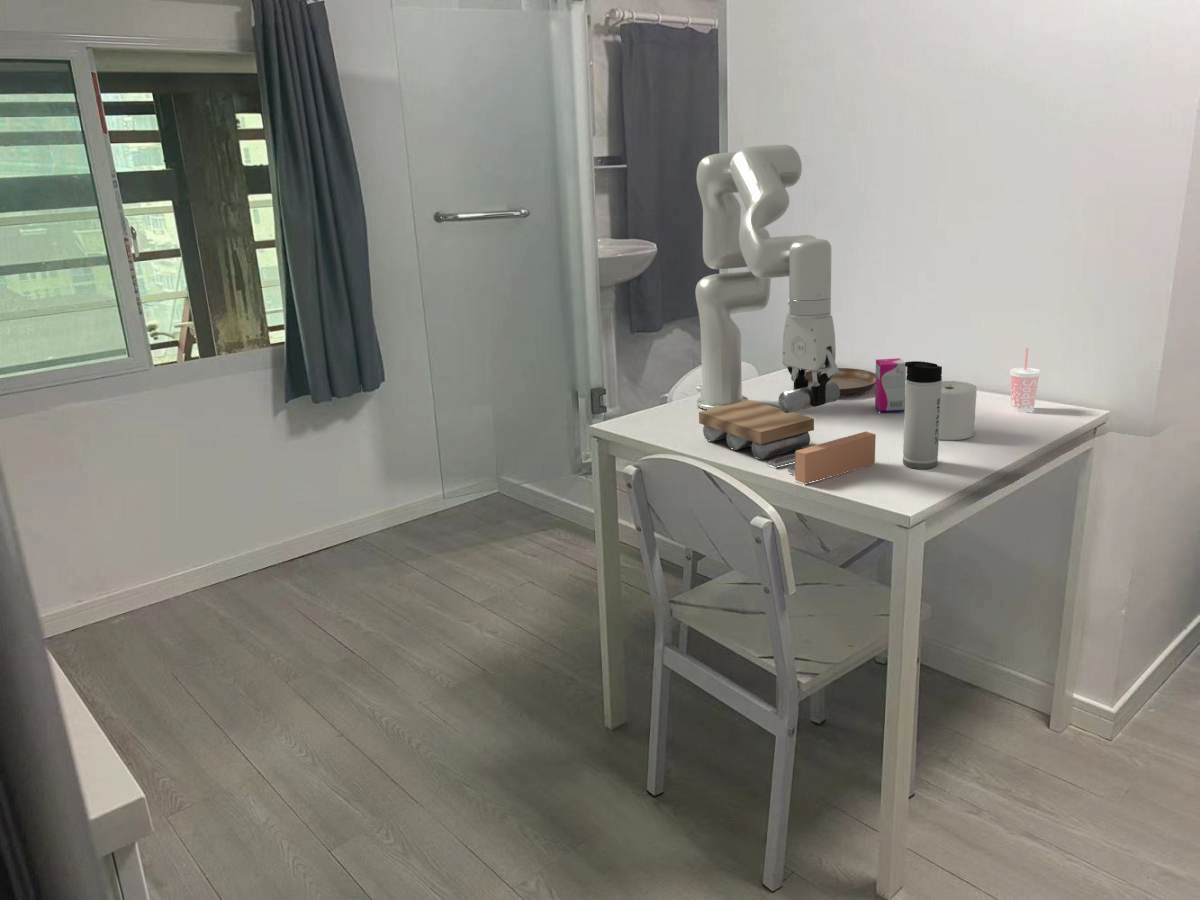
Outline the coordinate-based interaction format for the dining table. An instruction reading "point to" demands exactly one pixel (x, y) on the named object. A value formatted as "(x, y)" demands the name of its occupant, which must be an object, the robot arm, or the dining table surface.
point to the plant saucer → (850, 381)
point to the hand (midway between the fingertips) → (809, 402)
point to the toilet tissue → (957, 410)
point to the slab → (756, 421)
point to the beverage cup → (1024, 387)
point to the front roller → (780, 445)
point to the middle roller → (737, 442)
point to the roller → (805, 397)
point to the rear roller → (713, 433)
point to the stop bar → (835, 457)
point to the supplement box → (890, 385)
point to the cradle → (784, 462)
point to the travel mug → (922, 414)
